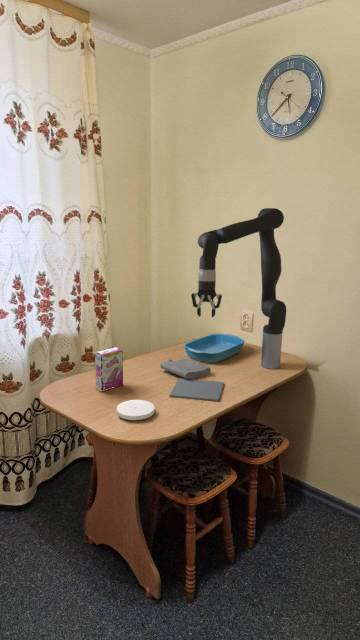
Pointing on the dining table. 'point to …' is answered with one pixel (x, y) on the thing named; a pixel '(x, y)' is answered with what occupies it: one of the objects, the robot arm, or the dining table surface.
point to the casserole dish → (214, 347)
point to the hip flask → (185, 368)
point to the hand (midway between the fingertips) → (206, 316)
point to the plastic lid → (135, 409)
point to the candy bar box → (109, 368)
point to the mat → (197, 389)
